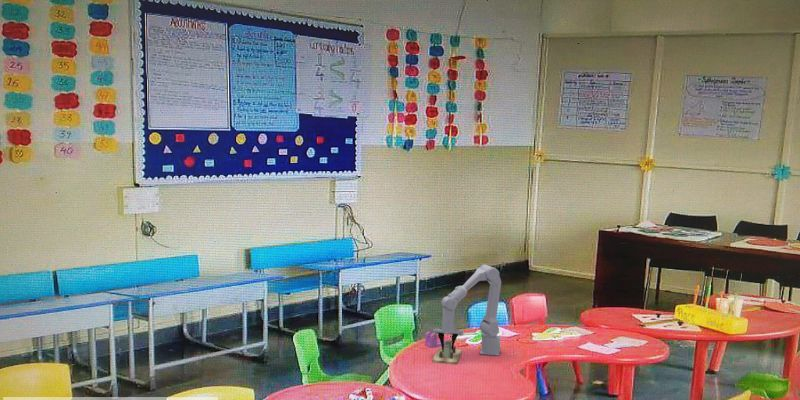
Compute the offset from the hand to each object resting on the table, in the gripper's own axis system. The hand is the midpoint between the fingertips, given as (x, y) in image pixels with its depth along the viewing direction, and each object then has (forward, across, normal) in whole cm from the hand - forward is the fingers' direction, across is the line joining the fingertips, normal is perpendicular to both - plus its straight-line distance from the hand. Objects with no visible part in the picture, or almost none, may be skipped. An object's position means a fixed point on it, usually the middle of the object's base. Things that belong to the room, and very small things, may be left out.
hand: (447, 348), depth 358 cm
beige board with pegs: (+4, 0, 0) cm, 4 cm away
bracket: (+4, -7, +19) cm, 21 cm away
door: (+3, 0, 0) cm, 3 cm away
